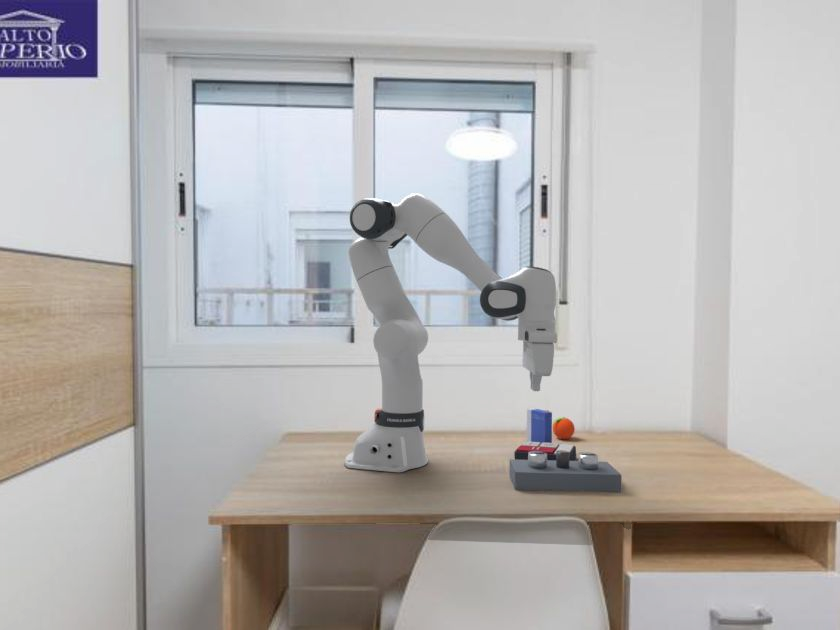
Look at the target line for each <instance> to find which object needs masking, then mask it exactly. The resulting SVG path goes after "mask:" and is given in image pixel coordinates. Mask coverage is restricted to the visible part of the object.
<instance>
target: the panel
mask: <svg viewBox="0 0 840 630" xmlns="http://www.w3.org/2000/svg"><path fill="white" fill-rule="evenodd" d="M509 478H510V481H511V483H512V485H513V487H514V490H518V491H519V490H520V491H524V490H525V491H550V490H556V491H557V490H558V491H557V492H559V491H560V492H591V493H593V492H594V493H596V492H597V493H622V474H621V473H620V472H619V471H618V470H617V469H616V468H614V467H613V466H612V465H611V464H610V463H609V462H608V461H599V460H598V469H597V470H584V469H581V468H579V460H575V461H569V468H568V469H562V468H558V467H556V460H547V468H545V469H534V468H531V467H529V466H528V460H515V459H509ZM556 491H555V492H556Z"/></svg>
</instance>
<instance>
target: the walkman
mask: <svg viewBox="0 0 840 630" xmlns="http://www.w3.org/2000/svg"><path fill="white" fill-rule="evenodd" d="M552 435H553V412H552V411H550V410H549V409H548V410H547V409H544V410H543V409H539V408H534V407H532V408H527V409H526V441H529V442H540V443H541V444H542V443H543V442H544V443H553V436H552Z"/></svg>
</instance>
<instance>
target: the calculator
mask: <svg viewBox="0 0 840 630" xmlns="http://www.w3.org/2000/svg"><path fill="white" fill-rule="evenodd" d="M559 450H562V451H569V461H577V448H576V445H573V444H565V443H564V444H562V443H561V444H560V443H555V442H552V443H544V442H543V443H542V444H541V443H540V442H529V441H527V440H526V441H524V442H523V443H521V444H520V445H519V446H518V447H517V448H516V449H515V450H514V453H513V454H514V460H528V452H531V451H540V452H544V453H546V454H547V460H556V451H559Z"/></svg>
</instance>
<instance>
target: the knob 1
mask: <svg viewBox="0 0 840 630" xmlns="http://www.w3.org/2000/svg"><path fill="white" fill-rule="evenodd" d="M528 466H529V467H531V468H534V469H545V468H547V454H546V453H544V452H540V451H531V452H528Z"/></svg>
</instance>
